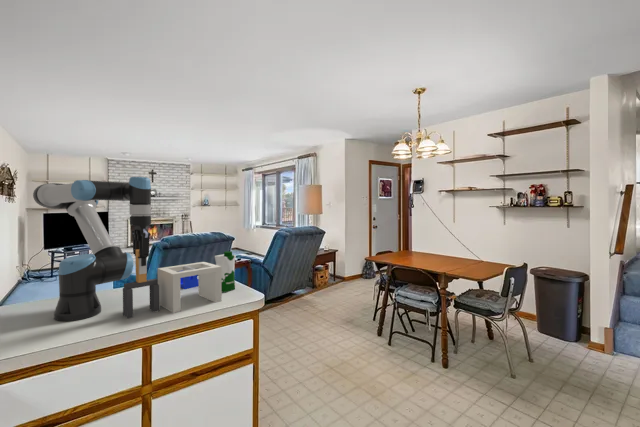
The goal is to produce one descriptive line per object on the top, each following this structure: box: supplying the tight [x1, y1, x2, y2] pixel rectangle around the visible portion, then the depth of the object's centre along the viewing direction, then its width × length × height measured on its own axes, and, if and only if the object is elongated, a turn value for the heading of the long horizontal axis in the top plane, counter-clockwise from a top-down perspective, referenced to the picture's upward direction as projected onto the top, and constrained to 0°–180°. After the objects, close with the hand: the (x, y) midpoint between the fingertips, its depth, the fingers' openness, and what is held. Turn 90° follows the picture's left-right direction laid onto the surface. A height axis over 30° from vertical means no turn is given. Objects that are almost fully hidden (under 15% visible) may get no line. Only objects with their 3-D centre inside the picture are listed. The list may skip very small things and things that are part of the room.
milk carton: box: [214, 250, 237, 293], centre depth 166 cm, size 9×9×20 cm
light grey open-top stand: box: [157, 261, 223, 314], centre depth 145 cm, size 22×16×16 cm
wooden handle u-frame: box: [122, 250, 160, 319], centre depth 131 cm, size 12×5×26 cm, turn 138°
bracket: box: [178, 271, 199, 290], centre depth 176 cm, size 18×8×9 cm, turn 140°
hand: (141, 272), depth 131 cm, fingers closed on wooden handle u-frame, 3 cm apart
